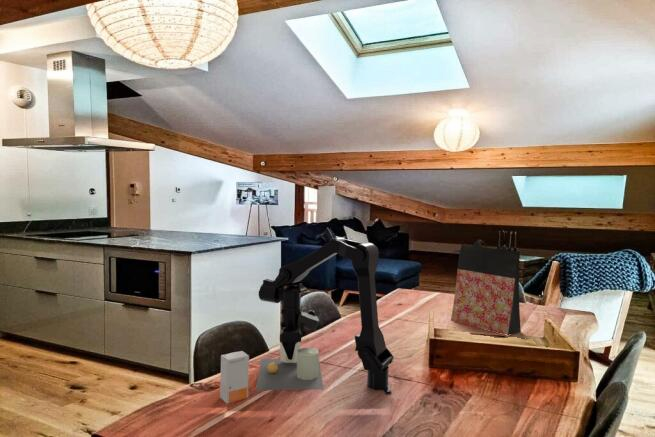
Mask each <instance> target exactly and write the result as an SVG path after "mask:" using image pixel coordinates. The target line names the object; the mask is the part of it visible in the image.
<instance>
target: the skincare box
mask: <svg viewBox="0 0 655 437" xmlns="http://www.w3.org/2000/svg"><path fill="white" fill-rule="evenodd" d="M249 368H250V355H249V354H247V353H246V352H244V351H243V350H240V351H234V352H230V353H226V354H221V355H220V385H219V387H220V388H219V390H220V391H219V392H220V393H219V395H220V396H219V398H220V399H221V400H222V401H223V402H225V403H226V404H230V403H234V402H237V401H240V400H244V399H248V398H249V371H250V370H249Z"/></svg>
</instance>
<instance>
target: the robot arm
mask: <svg viewBox="0 0 655 437" xmlns="http://www.w3.org/2000/svg"><path fill="white" fill-rule="evenodd" d="M337 254H338V255H339V256H341V257H343V258H345V259H348V260H349V261H350V262H351V266H352V269H353V271H354V272H355V275H356V276H357V284H358V285H357V286H358V297H359V312H360V323H361V324H360V325H361V329H360V332H359V333H357V334H356V335H354V342H355V350H354V351H355V352H357V356H358V358H359V359H360V360H361V362H362V367H363V370H364V371H367V376H366V377H367V378H366V379H367V380H366V386H367V387H368V388H369V389H371V390H373V391H383V393H384V394H392V389H391V387H390V385H389V369H390V368H389V367H390V366H389V365H391V364H392V363H393V360H394V358H395V357H394V355H393V354H392V353H391V351H390V350H389V348H387V345H386V341H385V337H384V334H383V331H382V330H381V328H380V326H379V316H378V303H377V302H378V301H377V288H376V277H375V276H376V272H377V269H378V265H379V255H380V251H379V248H378V247H377V246H376V245H375V244H374V243H372V242H365V243H363V242H359V241H354V240H350V239H348V238H347V239H346V238H343V237H334V238H331V239H330V240H329V242H327V243H325V244H323V245H322V246H321V247H319V248H317V249H316V250H314V251H313V252H311V253H309V254H308V255H306V256H305V257H302V258H301V259H299V260H296V261H293V262H290V263H288V264H283V265H282V266H281V267H279V269H278V275H276V277H275V279H274V280H273V279H269V278H265V279H263V280H262V284H261V286H259V287H260V288H259V290H258V297H259V299H260V301H261V302H268V303H273V304H274V303H275V304H278V303H280V302H281V311H280V312H281V315H280V316H281V317H280V331H279V342H281V343H282V345H283V347H284V350H285V352H286V355H287V357H288V359H289V360H292V358H293V353H294V349H295V345H296V343H298V342H300V343H301V342H302V330H301V328H302V327H304V328H308V329H310V330H312V331H316V330H317V328H318V325H319V322H320V319H319V317H318V316H317V315H315V314H316V313H315V311H314V310H312V309H308V311H307V312H304V311H302V307H301V300H302V299H301V298H302V297H301V294H302V293H304V292H307V291H308V288H307V287H306V286H305V285H303V283H302V282H301V281H302V280H304V278H305V277H307V275H309V273H310V272H311V271H312V270H313V269H315V268H316V267H318V266H319V265H321V264H322V263H325V262H326V261H328V260H330V259H331V258H333V257H335V255H337ZM298 282H301V283H298ZM295 283H298V284H297V285H296V284H295ZM285 285H287V286H285Z"/></svg>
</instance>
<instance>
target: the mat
mask: <svg viewBox="0 0 655 437" xmlns="http://www.w3.org/2000/svg"><path fill="white" fill-rule="evenodd" d="M272 362H273V363H276V364H277V366H278V370H277V372H275V373H270V372H269V371H268V369H267V367H268V365H269V364H270V363H272ZM323 383H324V382H323V379H322V370H321V364H320V360H319V361H318V377H317V378H315V379H313V380H302V379H300V378H297V362H295V363H285V362H283V361H280V358H261V359H260V364H259V369H258V375H257V381H256V385H255V391H276V390H277V391H283V390H284V391H285V390H286V391H287V390H288V391H290V390H292V391H293V390H295V391H297V390H299V391H300V390H302V391H303V390H324V384H323Z"/></svg>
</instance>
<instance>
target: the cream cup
mask: <svg viewBox="0 0 655 437" xmlns="http://www.w3.org/2000/svg"><path fill="white" fill-rule="evenodd" d="M279 342H280V341H279ZM299 349H301V342H298V343H296V345H295V349H294V353H293V358H292V360H289V359H288V357H287V355H286V352H285V350H284V347H283V345H282V343H281V342H280V345H279V350H280V351H279V353H280V354H279V359H280V361H283V362H285V363H295V362H297V350H299Z"/></svg>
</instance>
